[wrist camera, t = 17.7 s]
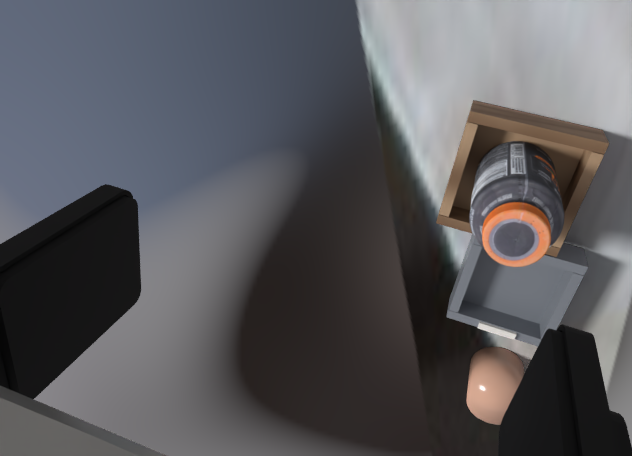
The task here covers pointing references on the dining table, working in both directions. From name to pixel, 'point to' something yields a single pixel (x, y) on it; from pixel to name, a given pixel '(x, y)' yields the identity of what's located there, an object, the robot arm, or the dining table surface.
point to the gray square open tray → (516, 292)
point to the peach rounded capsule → (493, 382)
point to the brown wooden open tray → (549, 134)
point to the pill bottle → (516, 204)
